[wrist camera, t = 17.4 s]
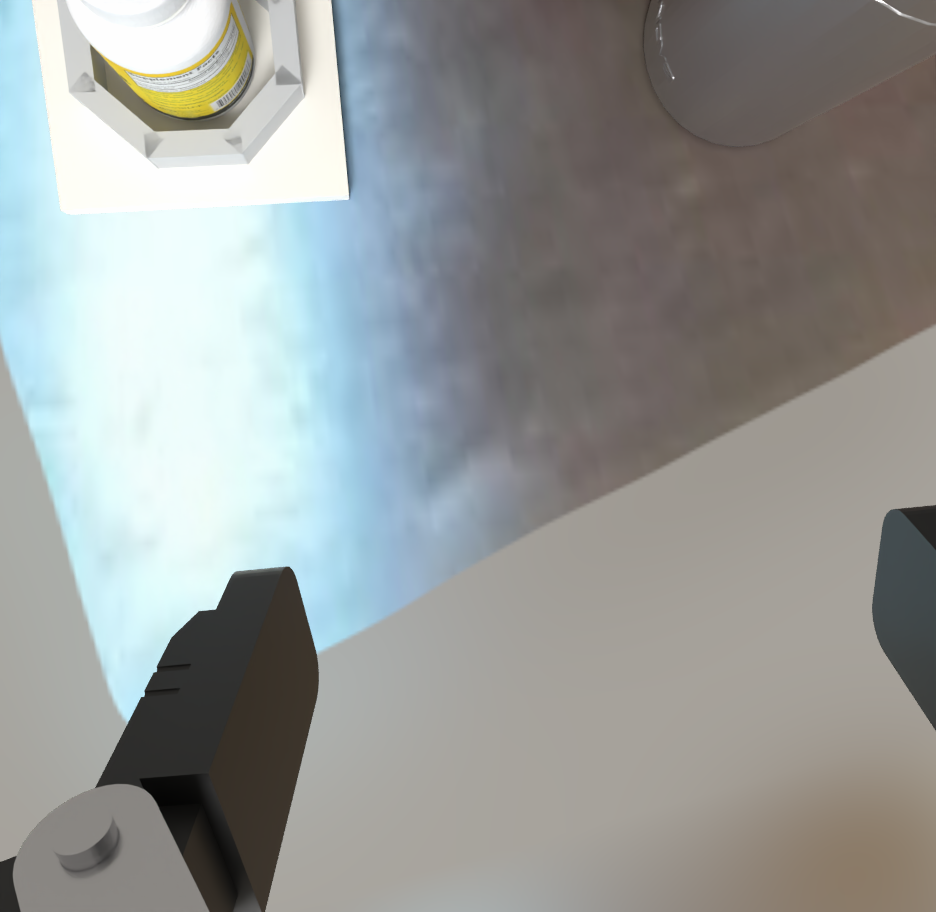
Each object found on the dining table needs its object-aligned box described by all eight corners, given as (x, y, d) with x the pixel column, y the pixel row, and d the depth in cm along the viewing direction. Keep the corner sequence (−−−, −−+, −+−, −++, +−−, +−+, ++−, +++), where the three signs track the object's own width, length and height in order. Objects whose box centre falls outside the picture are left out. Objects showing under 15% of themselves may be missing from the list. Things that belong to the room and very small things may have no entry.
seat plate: (323, -89, 35) (319, -127, 32) (349, 199, 36) (348, 186, 34) (28, -85, 33) (-2, -125, 31) (69, 214, 35) (43, 202, 32)
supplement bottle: (114, -9, 33) (12, -158, 24) (249, -11, 34) (203, -158, 24) (131, 129, 34) (38, 38, 24) (262, 124, 35) (223, 33, 25)
